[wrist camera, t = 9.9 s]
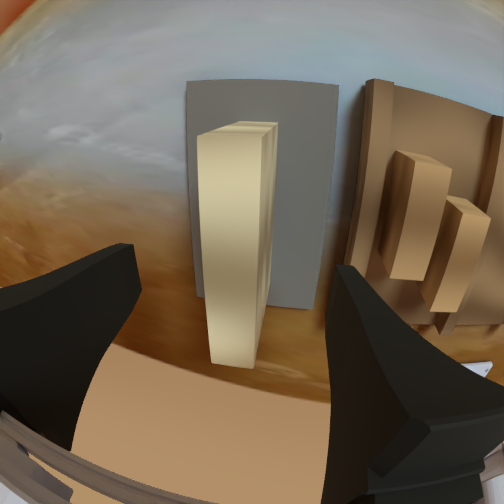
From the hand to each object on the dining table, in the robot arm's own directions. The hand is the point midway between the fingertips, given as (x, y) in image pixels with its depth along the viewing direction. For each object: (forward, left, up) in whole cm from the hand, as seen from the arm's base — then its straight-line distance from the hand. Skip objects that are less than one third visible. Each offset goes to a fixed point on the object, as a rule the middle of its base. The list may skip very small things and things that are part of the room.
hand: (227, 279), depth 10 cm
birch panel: (0, 0, -8) cm, 8 cm away
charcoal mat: (0, 0, -8) cm, 8 cm away
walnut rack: (0, -14, -8) cm, 16 cm away
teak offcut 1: (+1, -8, -7) cm, 11 cm away
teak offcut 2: (-1, -11, -7) cm, 14 cm away
